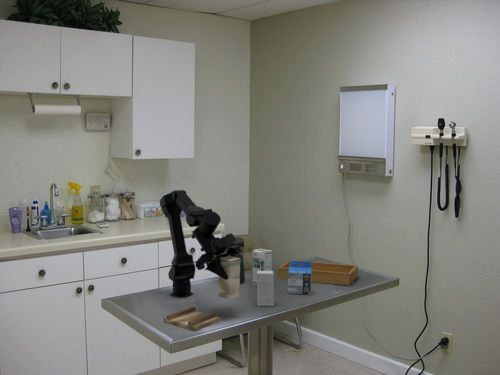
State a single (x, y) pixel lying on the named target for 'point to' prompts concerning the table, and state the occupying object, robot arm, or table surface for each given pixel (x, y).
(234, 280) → the maple block
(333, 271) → the tray
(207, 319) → the slotted oak board
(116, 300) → the table surface
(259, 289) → the skincare box
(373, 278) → the table surface
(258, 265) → the syrup box
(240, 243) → the coffee jar
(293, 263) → the label tape box
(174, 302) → the table surface
